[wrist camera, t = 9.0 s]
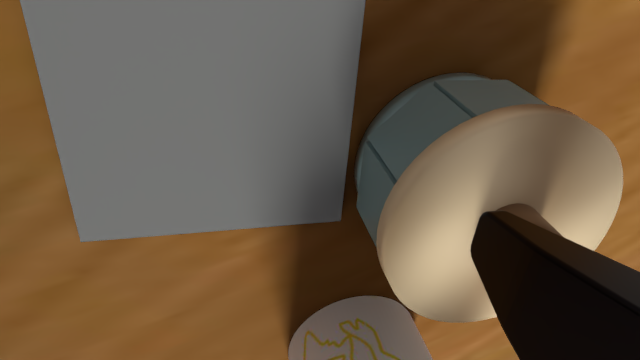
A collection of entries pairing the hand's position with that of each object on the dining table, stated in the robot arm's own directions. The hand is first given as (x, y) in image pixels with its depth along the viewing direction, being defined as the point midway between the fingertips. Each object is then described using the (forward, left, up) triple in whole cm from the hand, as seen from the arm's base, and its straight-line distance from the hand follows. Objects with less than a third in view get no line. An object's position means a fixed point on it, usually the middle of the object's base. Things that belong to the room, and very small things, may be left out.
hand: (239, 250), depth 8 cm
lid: (+11, -6, -7) cm, 14 cm away
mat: (0, -3, -12) cm, 13 cm away
